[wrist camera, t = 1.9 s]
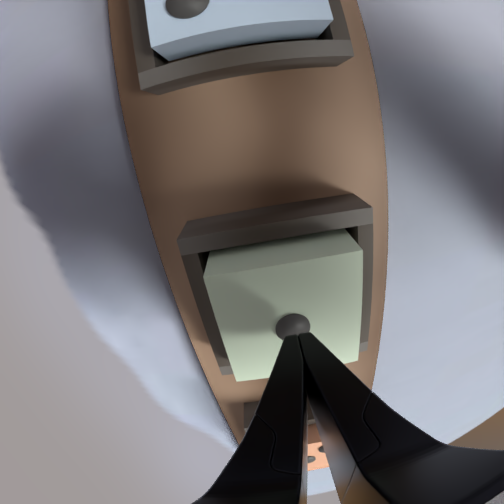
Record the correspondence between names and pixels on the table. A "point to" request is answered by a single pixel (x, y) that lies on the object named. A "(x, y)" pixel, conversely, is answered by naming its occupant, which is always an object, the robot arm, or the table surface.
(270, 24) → the tile
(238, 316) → the tile
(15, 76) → the table surface
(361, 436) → the robot arm
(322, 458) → the tile
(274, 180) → the board
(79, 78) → the table surface
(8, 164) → the table surface
